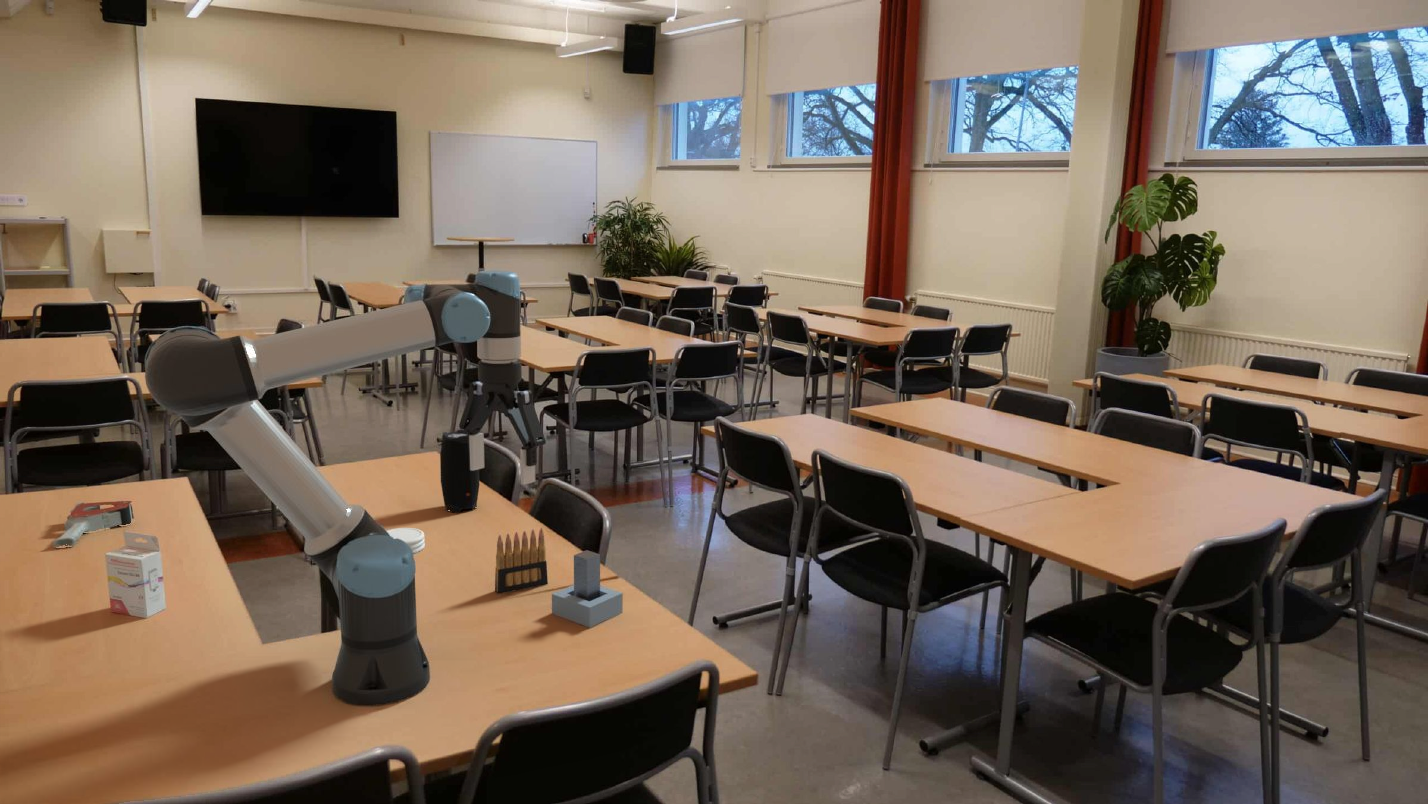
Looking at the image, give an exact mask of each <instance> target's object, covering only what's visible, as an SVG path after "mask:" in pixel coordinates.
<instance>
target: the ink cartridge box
mask: <svg viewBox="0 0 1428 804" xmlns="http://www.w3.org/2000/svg"><path fill="white" fill-rule="evenodd" d="M122 533H123V537H124V543H125V545H124V546H121V547H119V548H117V549H114V550H112V551H109V552H106V553H105V554H104V556H105V566H106V574H107V575H106V576H107V583H108V585H107V586H108V594H109V595H108V596H109V605H110V612H111V613H116V614H119V615H121V614H122V615H127V616H132V617H137V618H141V619H142V618H144V619H147V618H150V617H152V616H154V615H155V614H158V613H159V612H161V611H164V610H165V609H166V608H167V607H166V606H167V605H166V595H165V585H164V572H163V562H162V552H161V551H160V544H159V538H158V536H157V535H153V534H145V533H141V532H134V531H127V530H125V531H123V532H122ZM136 539H138V540H139V539H142V540H144V541H146V542H143V541H137V540H136Z"/></svg>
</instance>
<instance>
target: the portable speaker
mask: <svg viewBox="0 0 1428 804" xmlns="http://www.w3.org/2000/svg"><path fill="white" fill-rule="evenodd" d="M441 437H442V438H441V439H442V440H441V448H440V455H439V457H440V459H439V461H440V485H441V492H442V498H443V504H444V507H445V509H446V511H447V510H450V511H452V512H451V513H460V512H459V511H461V510H466V509H470V510H471V509H474V508H475V507H477V506H478V505H477V504H478V500H479V499H478V498H479V489H480V469H478V470H474V471H472V470H470V451H469V449H468V434H466V431H465V430H464V429H462V430H461V429H458V430H456V431H455V430H454V431H448V432H446V431H445V432H443V433H442V436H441ZM474 510H475V509H474Z"/></svg>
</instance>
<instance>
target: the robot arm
mask: <svg viewBox="0 0 1428 804" xmlns="http://www.w3.org/2000/svg"><path fill="white" fill-rule="evenodd" d="M403 295H404V296H403V304H398V305H395V306H390V307H386V308H382V309H377V310H373V311H370V312H369V311H367V312H365V313H360V314H356V315H352V316H348V317H344V318H339V319H334V320H330V321H327V322H322V323H318V324H313V325H309V326H305V327H301V328H296V329H291V330H288V331H283V332H279V333H275V334H271V335H267V336H262V337H258V338H253V339H250V338H248V337H247V336H246V335H243V334H238V335H234V336H231V337H225V338H221V337H220V336H219V335H218V334H216V333H215V332H213V331H211V330H209V329H206V328H204V327H200V326H194V325H193V326H192V325H191V326H190V325H185V326H184V325H183V326H177V327H174V328H171V329H168V330H166V331H165V332H163V333H162V334H160V335H159V336H158V337H157V338H156V339H154V340H153V341H152V343H151V344H150V345H149V346H148V349H147V351H146V353H145V356H144V371H145V372H144V380H145V385H146V388H147V390H148V393H149V394H150V396H151V397H152V399H153V400H154V401H155V402H156V403H157V404H158V405H159V406H160V407H162V408H163V409H165V410H166V411H169V412H171V413H173V414H176V415H178V416H179V417H180V418H181V419H182V421H184V422H185V424H187V425H188V427H189V428H190V429H192V430H197V431H198V430H201V431H207V432H208V433H209V434H210V435H211V436H212V438H214V439H215V441H216V442H218V444H219V445H220V446H221V447H222V449H224V451H226V453H227V454H228V455H229V456H230V457H231V458H232V459H233V460H234V462H235V463H236V464H237V465H238V466H239V467H240V468H241V469H242V470H243V471H244V472H245V473H246V475H247V476H248V477H249V478H250V479H251V480H252V481H253V483H255V484H256V486H257V487H258V488H259V489H260V490H261V491H262V492H263V493H264V494H265V496H267V498H268V499H269V500H270V501H271V502H272V503H273V504H274V505H275V506H276V507H277V509H279V511H280V512H281V513H282V514H283V515H284V516H285V517H286V519H288V521H289V522H290V523H291V524H292V525H293V526H294V527H295V529H296V530H298V532H299V533H300V534H301V535H302V536H303V537H304V540H305V542H304V549H303V551H304V552H305V554H306V555H307V556H308V557H309V558H310V560H312V561H313V562H314V564H315V565H316V566H317V567H318V568H319V569H320V570H321V572H323V574H324V575H326V577H327V578H328V579H329V580H330V582H331V584H332V586H333V589H334V590H335V591H334V592H335V594H336V596H337V598H338V605H339V623H340V637H341V642H340V643H341V644H340V648H339V651H338V654H337V658H336V662H335V666H334V670H333V671H332V674H331V684H332V685H331V687H332V690H331V691H332V693H333V695H334V696H335V698H336V699H338V700H339V701H342V702H344V703H347V704H350V705H355V706H367V707H368V706H371V707H372V706H382V705H390V704H394V703H397V702H401V701H403V700H407V699H409V698H411V697H413V696H415V695H417V694H419V693H420V692H421V691H423V690H424V689H425V688H426V687H427V685H428V684H429V682H430V679H431V671H430V670H431V669H430V668H431V667H430V663H429V660H428V657H427V655H426V653H425V650H424V648H423V645H422V643H421V641H420V638H419V635H418V629H417V628H418V623H417V622H418V621H417V599H416V598H417V595H416V575H415V574H416V572H417V571H416V561H415V559H414V558H415V557H414V554H413V552H412V549H411V547H410V546H409V545H408V544H407V543H406V542H404V541H403V540H401V539H398V538H396V539H394V538H393V537H391V536H390V535H389V533H388V532H387V531H388V530H387V529H386V528H384V527H383V526H382V525H380V524H379V523H378V522H377V521H376V520H375V519H374V518H373V517H372V516H371V515H370V513H369V512H368V511H367V510H366V509H365V508H364V506H362V505H361V504H349V503H348V502H347V501H346V500H345V499H344V498H343V497H342V495H341V494H340V493H339V492H338V491H337V490H336V489H335V488H334V486H333V485H332V484H331V482H330V481H329V480H328V479H327V478H326V477H325V476H324V474H323V473H322V472H320V470H319V468H318V467H316V465H315V464H314V463H313V462H312V461H311V460H310V459H309V457H308V456H307V455H306V454H305V453H304V452H303V450H301V447H299V446H298V444H297V443H296V442H295V441H294V440H293V439H292V438H291V437H290V436H289V435H288V433H287V432H286V430H284V429H283V427H281V425H280V424H279V423H278V422H277V420H276V419H275V418H274V417H273V416H272V415H271V414H270V412H269V411H268V410H267V408H265V406H264V405H262V403H261V402H260V401H259V400H260V399H263V396H265V395H264V394H265V393H266V392H267V391H268V390H271V389H275V388H279V387H283V386H286V385H291V384H295V383H298V382H302V381H306V380H310V379H313V378H317V377H322V376H325V375H330V374H334V373H336V372H340V371H341V372H342V371H344V370H348V369H352V368H357V367H360V366H364V365H367V364H371V363H375V362H379V361H383V360H387V359H391V358H394V357H399V356H403V355H406V354H409V353H413V352H418V351H421V350H422V351H423V350H425V349H429V348H433V347H439V346H443V345H446V344H450V343H454V342H456V343H463V344H464V343H466V344H467V343H468V344H469V343H474V342H477V343H476V344H477V346H476V347H477V349H476V350H477V351H476V353H477V358H478V359H480V360H478V362H477V377H478V378H477V379H478V381H473V382H470V383H469V389H468V390H469V393H468V397H467V399H466V402H465V406H464V408H463V409H464V410H463V412H462V414H461V415H462V416H461V417H460V422H459V423H458V424H459V425H458V427H459V430H463V429H464V430H465V431H466V434H468V449H469V451H470V470H472V471H474V470H478V469H479V470H481V469H484V468H485V443H484V442H485V438H484V437H485V436H484V434H485V433H483V431H484V430H483V427H484V426H485V425H486V422H487V421H488V419H489V418H490V417H491V415H492V413H493V412H498V413H500V414H504V417H505V418H508V420H509V422H510V424H511V426H512V427H513V429H514V431H515V432H516V435H517V438H519V440H520V442H521V444H522V447H520V449H519V450H520V451H519V454H520V456H519V457H520V459H519V460H520V462H519V463H520V485H523V486H525V485H528V484H532V483H536V466H537V462H538V457H537V456H538V455H537V454H538V453H537V451H538V449H537V448H538V447H540V446H543V445H546V443H547V442H546V438H545V435H544V432H543V429H542V426H541V423H540V421H539V416H538V414H537V412H536V409H535V406H534V400H533V392H532V390H530V389H529V390H524V391H523V390H522V391H520V390H519V383H520V382H521V381H522V379H523V378H522V372H523V371H522V361H520V360H519V359H520V358H521V357H522V340H521V339H522V337H521V333H522V332H521V312H522V311H521V304H522V303H521V300H522V297H521V284H520V278H519V275H518V274H517V273H516V272H514V271H509V270H481V271H478V272H477V273H476V274H475V280H474V282H471V283H461V284H459V283H458V284H456V283H455V284H452V283H451V284H450V283H448V284H445V283H442V284H428V283H424V284H415V285H414V284H413V285H410V286H408V287H407V288H406V289H405V291H404V294H403Z"/></svg>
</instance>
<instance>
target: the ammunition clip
mask: <svg viewBox="0 0 1428 804" xmlns="http://www.w3.org/2000/svg"><path fill="white" fill-rule="evenodd" d="M544 533H545V532H544V530H543V528H542V527H541V528H540V529H539V533H538V540H537V535H536V531H535V529H531V532H530V538H529V537H528V534H527V532H526V530H524V531H523V532H522V536H521V537H522V538H521V543H520V536H519V534H518V532H517V531H516V532H515V534H514V537H513V547H512V540H511V535H510V534H509V533H507V534H506V537H505V546H504V542H503V539H502V536H501V535H500V534H498V537H497V542H496V554H495V573H494V574H495V576H494V577H495V579H494V580H495V581H494V591H495V593H497V594H506V593H510V592H517V591H520V590H525V589H530V588H535V587H541V586H545V585H548V584H549V583H548V582H549V581H548V578H549V577H548V565H547V563H548V562H547V560H546V559H547V558H546V556H547V555H546V549H547V548H546V545H545V544H546V542H545V534H544ZM528 538H529V540H528ZM537 541H538V542H537ZM504 547H505V548H504ZM512 548H513V549H512Z"/></svg>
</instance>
